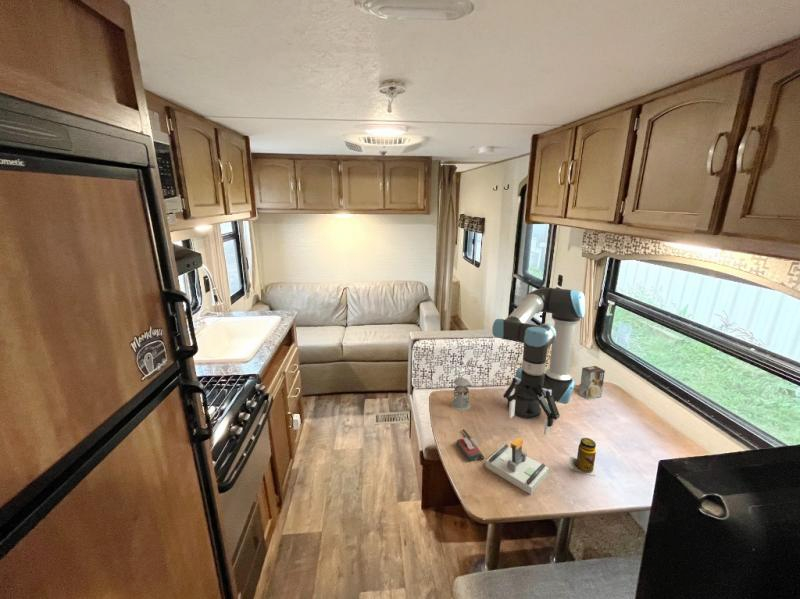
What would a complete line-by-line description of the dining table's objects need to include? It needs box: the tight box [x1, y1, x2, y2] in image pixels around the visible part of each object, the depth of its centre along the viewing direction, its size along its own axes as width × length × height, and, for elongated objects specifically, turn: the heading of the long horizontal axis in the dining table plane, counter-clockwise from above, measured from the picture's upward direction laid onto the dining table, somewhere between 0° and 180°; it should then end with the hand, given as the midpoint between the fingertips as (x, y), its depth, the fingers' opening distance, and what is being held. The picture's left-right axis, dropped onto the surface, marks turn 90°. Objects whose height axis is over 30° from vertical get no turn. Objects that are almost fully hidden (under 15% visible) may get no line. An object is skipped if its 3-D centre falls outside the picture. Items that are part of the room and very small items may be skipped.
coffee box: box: [579, 365, 606, 400], centre depth 185 cm, size 9×6×16 cm
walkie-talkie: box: [455, 428, 485, 463], centre depth 147 cm, size 9×4×20 cm
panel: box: [485, 444, 550, 495], centre depth 133 cm, size 14×19×6 cm
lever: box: [510, 437, 524, 466], centre depth 132 cm, size 6×2×10 cm, turn 133°
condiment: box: [569, 437, 597, 477], centre depth 134 cm, size 7×8×12 cm
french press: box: [451, 361, 471, 412], centre depth 177 cm, size 10×12×25 cm
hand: (528, 424), depth 124 cm, fingers open, 13 cm apart
